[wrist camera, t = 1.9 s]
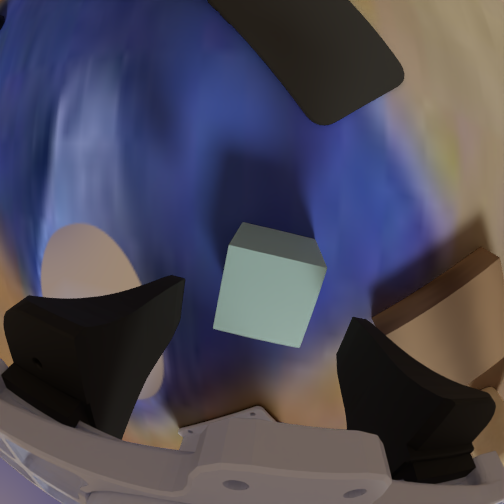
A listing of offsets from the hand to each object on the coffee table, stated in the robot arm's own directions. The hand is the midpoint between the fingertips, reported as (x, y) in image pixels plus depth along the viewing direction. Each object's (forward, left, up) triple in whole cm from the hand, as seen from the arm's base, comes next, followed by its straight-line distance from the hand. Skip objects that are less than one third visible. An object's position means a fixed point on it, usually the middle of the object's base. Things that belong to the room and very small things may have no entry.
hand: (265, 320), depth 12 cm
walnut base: (+9, -12, -7) cm, 17 cm away
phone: (+10, +13, -7) cm, 18 cm away
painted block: (0, 0, -7) cm, 7 cm away
